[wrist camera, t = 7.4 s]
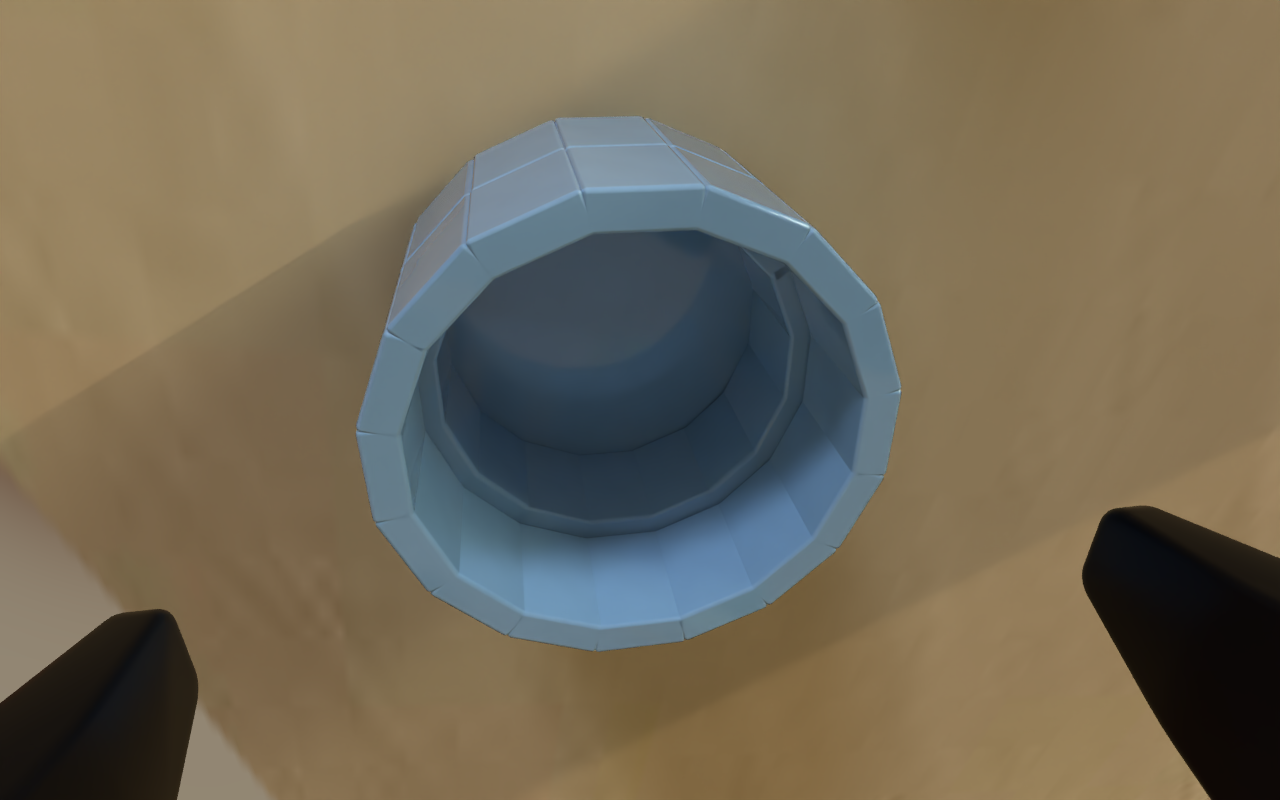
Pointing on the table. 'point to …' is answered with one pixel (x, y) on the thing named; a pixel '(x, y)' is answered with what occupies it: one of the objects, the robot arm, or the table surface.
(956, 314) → the table surface
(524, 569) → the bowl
